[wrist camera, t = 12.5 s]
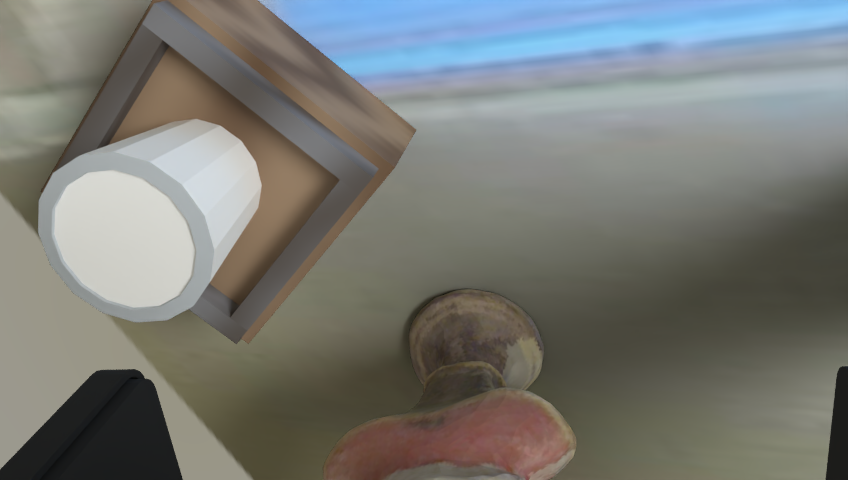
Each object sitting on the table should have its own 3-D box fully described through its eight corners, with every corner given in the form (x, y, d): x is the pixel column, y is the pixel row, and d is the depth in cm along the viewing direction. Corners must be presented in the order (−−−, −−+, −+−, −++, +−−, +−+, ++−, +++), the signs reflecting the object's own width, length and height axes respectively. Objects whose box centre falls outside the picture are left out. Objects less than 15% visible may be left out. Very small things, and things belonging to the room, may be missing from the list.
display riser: (416, 129, 38) (389, 176, 32) (285, 288, 43) (239, 357, 37) (220, -30, 37) (149, -16, 30) (107, 153, 41) (24, 200, 35)
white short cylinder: (171, 266, 36) (92, 342, 30) (101, 132, 34) (0, 184, 28) (299, 227, 35) (243, 300, 28) (234, 83, 32) (158, 127, 26)
